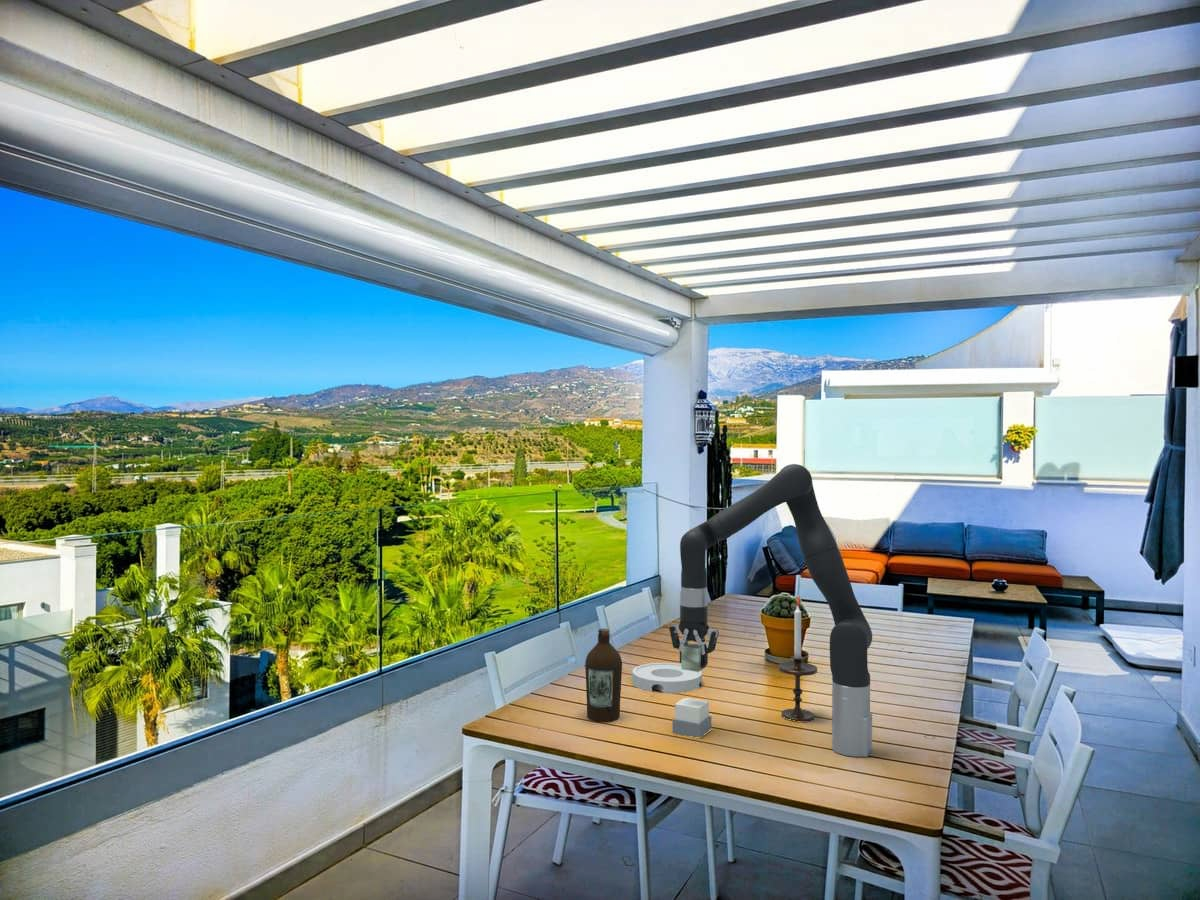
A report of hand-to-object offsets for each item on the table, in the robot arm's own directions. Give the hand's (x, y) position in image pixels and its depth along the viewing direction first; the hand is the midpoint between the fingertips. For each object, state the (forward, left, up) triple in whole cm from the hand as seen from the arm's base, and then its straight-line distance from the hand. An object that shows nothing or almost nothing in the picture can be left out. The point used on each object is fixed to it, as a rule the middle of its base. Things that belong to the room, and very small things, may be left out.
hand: (693, 665), depth 210 cm
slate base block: (0, 0, -18) cm, 18 cm away
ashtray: (+26, -39, -18) cm, 50 cm away
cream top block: (0, 0, -14) cm, 14 cm away
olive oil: (+27, +2, -18) cm, 33 cm away
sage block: (0, 0, -1) cm, 1 cm away
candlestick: (-21, -27, -18) cm, 39 cm away
